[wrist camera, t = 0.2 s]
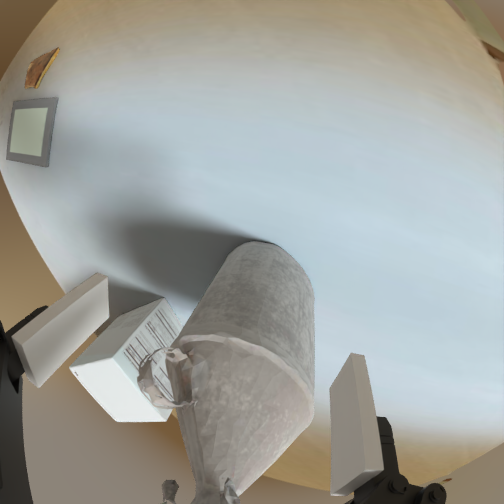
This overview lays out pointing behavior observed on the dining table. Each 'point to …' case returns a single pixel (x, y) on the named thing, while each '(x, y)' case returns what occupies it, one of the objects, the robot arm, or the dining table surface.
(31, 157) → the mat
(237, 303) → the grey stoneware bottle
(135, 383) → the supplement box
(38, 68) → the shard
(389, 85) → the dining table surface
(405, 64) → the dining table surface
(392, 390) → the dining table surface
